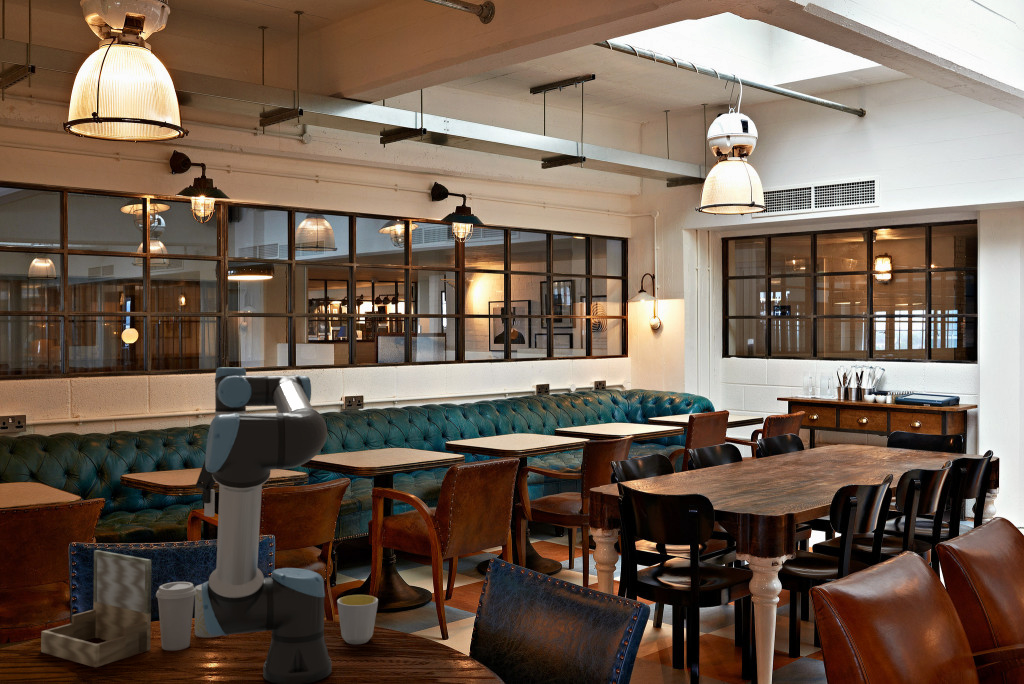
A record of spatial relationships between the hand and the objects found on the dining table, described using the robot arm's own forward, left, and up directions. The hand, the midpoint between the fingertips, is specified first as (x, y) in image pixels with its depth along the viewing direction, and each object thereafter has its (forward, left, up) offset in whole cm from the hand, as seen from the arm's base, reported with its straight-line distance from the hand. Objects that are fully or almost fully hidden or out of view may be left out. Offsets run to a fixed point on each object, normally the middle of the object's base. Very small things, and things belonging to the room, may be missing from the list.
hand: (229, 512), depth 234 cm
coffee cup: (+8, +9, -33) cm, 35 cm away
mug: (-26, -19, -33) cm, 46 cm away
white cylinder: (+10, -3, -33) cm, 34 cm away
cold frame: (+22, +22, -33) cm, 45 cm away
